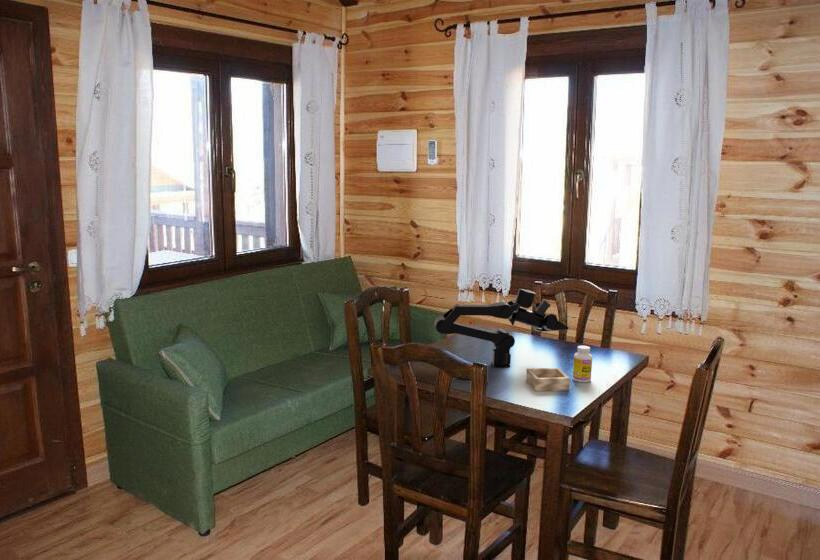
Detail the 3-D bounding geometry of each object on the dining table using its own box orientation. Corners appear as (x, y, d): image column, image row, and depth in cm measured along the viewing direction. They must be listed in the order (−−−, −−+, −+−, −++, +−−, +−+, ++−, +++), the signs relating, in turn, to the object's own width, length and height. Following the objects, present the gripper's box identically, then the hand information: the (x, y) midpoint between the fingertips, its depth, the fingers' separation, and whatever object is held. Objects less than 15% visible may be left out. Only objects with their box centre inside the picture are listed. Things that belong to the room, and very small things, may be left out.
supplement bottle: (580, 383, 259) (582, 350, 257) (568, 378, 265) (570, 345, 262) (594, 381, 262) (596, 348, 260) (582, 376, 268) (584, 343, 266)
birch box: (535, 391, 250) (536, 379, 249) (526, 380, 262) (526, 368, 261) (569, 390, 251) (569, 378, 251) (558, 379, 264) (558, 367, 263)
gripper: (539, 296, 269) (577, 308, 271) (526, 299, 288) (561, 310, 289) (532, 323, 268) (570, 335, 269) (519, 325, 286) (554, 336, 288)
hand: (564, 328), depth 279 cm, fingers open, 9 cm apart
